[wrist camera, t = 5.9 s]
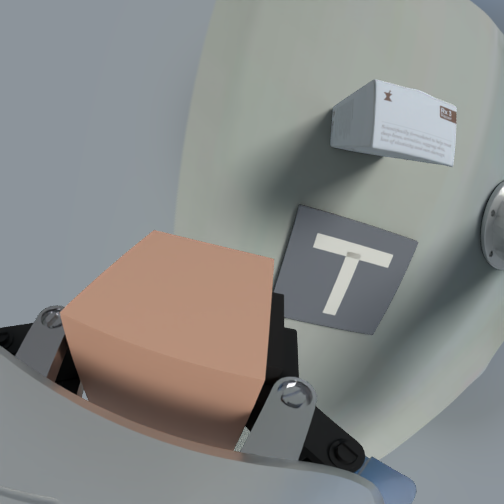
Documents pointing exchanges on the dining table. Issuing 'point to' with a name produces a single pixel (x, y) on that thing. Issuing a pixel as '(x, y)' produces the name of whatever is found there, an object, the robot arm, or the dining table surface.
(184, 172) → the dining table surface
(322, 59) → the dining table surface
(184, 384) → the block
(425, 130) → the skincare box
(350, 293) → the letter mat
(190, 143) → the dining table surface
